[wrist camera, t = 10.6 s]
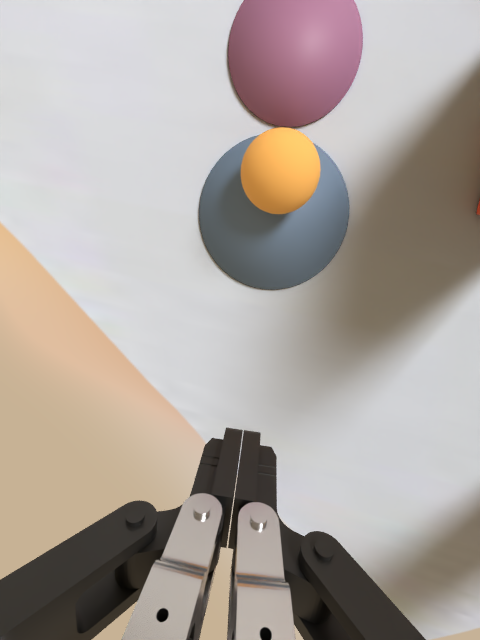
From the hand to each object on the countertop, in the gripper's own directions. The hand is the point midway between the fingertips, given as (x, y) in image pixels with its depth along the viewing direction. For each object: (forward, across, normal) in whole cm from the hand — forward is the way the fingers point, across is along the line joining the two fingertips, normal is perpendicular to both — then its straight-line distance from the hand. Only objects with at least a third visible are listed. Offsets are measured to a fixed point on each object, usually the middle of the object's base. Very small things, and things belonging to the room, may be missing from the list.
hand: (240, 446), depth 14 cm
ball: (+16, 0, -12) cm, 20 cm away
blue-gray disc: (+19, 0, -9) cm, 21 cm away
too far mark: (+19, 0, -21) cm, 28 cm away
